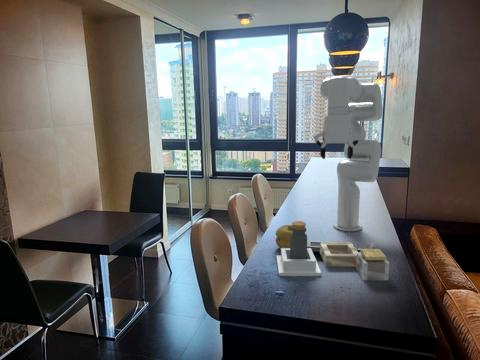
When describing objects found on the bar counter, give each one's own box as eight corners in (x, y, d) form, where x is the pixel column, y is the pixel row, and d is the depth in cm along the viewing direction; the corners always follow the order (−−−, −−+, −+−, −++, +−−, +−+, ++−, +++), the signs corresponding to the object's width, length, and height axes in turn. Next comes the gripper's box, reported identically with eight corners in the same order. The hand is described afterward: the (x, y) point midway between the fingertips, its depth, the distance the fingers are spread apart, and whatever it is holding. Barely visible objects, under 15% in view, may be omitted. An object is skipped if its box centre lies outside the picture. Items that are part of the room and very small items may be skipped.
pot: (297, 257, 133) (298, 232, 130) (270, 251, 139) (270, 227, 137) (309, 246, 142) (310, 223, 140) (283, 241, 148) (283, 218, 146)
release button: (359, 265, 121) (360, 249, 120) (378, 265, 120) (379, 248, 119) (365, 274, 114) (366, 256, 113) (385, 274, 114) (386, 256, 113)
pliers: (372, 240, 144) (377, 255, 130) (372, 244, 144) (377, 259, 130) (347, 238, 146) (349, 253, 132) (347, 242, 147) (349, 257, 133)
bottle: (305, 259, 127) (306, 220, 124) (307, 267, 122) (308, 225, 119) (289, 259, 128) (289, 220, 125) (290, 267, 122) (291, 226, 119)
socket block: (319, 252, 136) (320, 238, 135) (366, 252, 135) (367, 237, 134) (332, 280, 115) (332, 263, 113) (388, 280, 114) (389, 263, 113)
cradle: (276, 258, 132) (276, 246, 131) (314, 258, 131) (314, 246, 130) (279, 276, 118) (279, 263, 117) (321, 276, 118) (321, 262, 117)
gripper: (358, 111, 132) (356, 156, 136) (312, 112, 133) (311, 157, 136) (365, 111, 125) (362, 159, 128) (315, 112, 125) (314, 160, 129)
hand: (336, 158), depth 132 cm, fingers open, 9 cm apart
